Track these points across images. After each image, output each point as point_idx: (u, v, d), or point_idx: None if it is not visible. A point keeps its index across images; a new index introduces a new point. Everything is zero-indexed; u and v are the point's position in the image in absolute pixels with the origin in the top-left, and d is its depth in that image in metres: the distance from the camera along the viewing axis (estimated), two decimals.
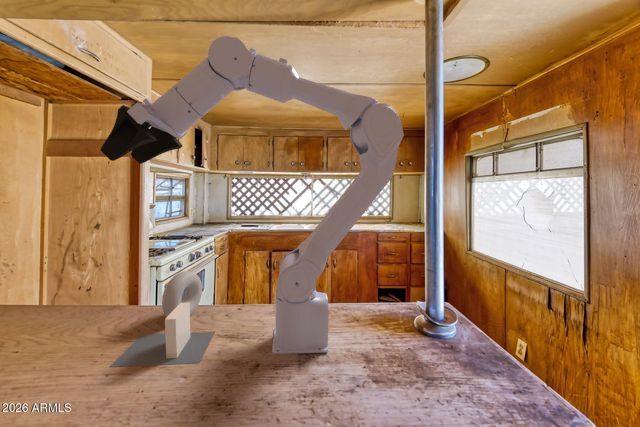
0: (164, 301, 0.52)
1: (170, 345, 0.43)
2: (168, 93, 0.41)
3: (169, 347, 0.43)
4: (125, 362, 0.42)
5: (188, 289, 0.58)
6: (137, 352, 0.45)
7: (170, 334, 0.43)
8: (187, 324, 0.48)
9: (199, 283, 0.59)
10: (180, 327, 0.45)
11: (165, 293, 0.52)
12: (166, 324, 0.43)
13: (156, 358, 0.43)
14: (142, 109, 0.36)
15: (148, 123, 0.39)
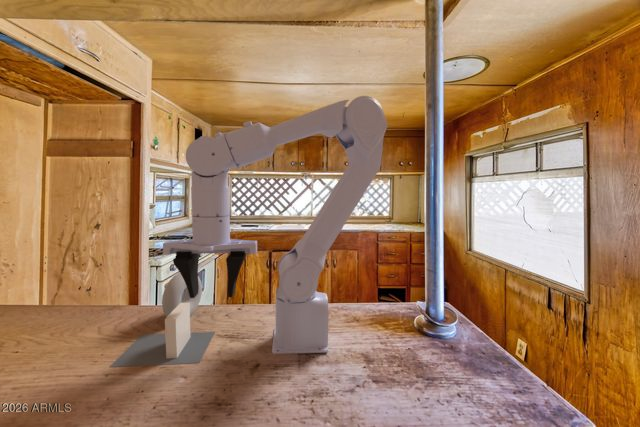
0: (164, 301, 0.52)
1: (170, 345, 0.43)
2: (223, 224, 0.43)
3: (169, 347, 0.43)
4: (125, 362, 0.42)
5: None
6: (137, 352, 0.45)
7: (170, 334, 0.43)
8: (187, 324, 0.48)
9: (199, 283, 0.59)
10: (180, 327, 0.45)
11: (165, 293, 0.52)
12: (166, 324, 0.43)
13: (156, 358, 0.43)
14: (256, 242, 0.46)
15: None
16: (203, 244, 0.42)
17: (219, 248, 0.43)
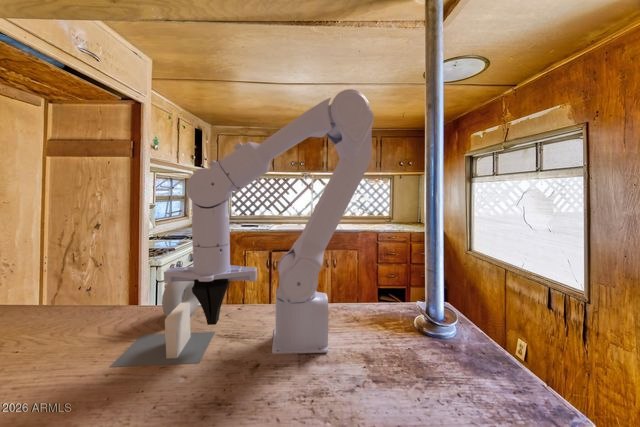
0: (164, 301, 0.52)
1: (170, 345, 0.43)
2: (223, 253, 0.44)
3: (169, 347, 0.43)
4: (125, 362, 0.42)
5: (188, 289, 0.58)
6: (137, 352, 0.45)
7: (170, 334, 0.43)
8: (187, 324, 0.48)
9: None
10: (180, 327, 0.45)
11: (165, 293, 0.52)
12: (166, 324, 0.43)
13: (156, 358, 0.43)
14: (256, 269, 0.46)
15: None
16: (203, 273, 0.43)
17: (219, 277, 0.43)
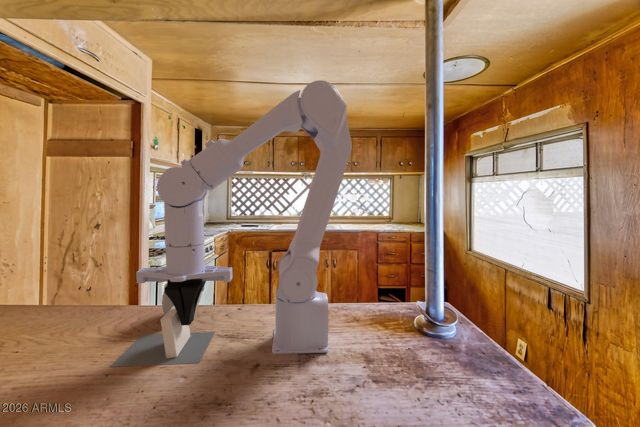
0: (164, 301, 0.52)
1: (169, 345, 0.43)
2: (196, 253, 0.43)
3: (168, 347, 0.43)
4: (125, 362, 0.42)
5: None
6: (137, 352, 0.45)
7: (167, 334, 0.43)
8: None
9: None
10: (178, 326, 0.45)
11: None
12: (162, 324, 0.43)
13: (156, 358, 0.43)
14: (231, 270, 0.46)
15: None
16: (176, 274, 0.42)
17: (192, 277, 0.43)
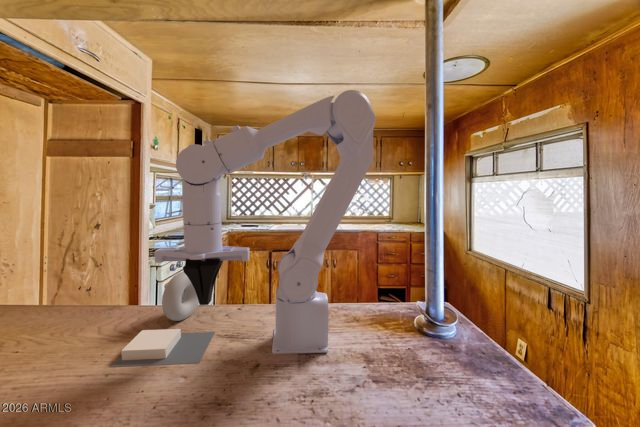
0: (164, 301, 0.52)
1: (151, 354, 0.43)
2: (214, 231, 0.43)
3: (153, 355, 0.43)
4: (125, 362, 0.42)
5: (188, 289, 0.58)
6: None
7: (138, 354, 0.43)
8: (159, 333, 0.48)
9: None
10: (143, 343, 0.45)
11: (165, 293, 0.52)
12: (127, 358, 0.43)
13: None
14: (248, 249, 0.46)
15: None
16: (194, 252, 0.42)
17: (211, 256, 0.43)
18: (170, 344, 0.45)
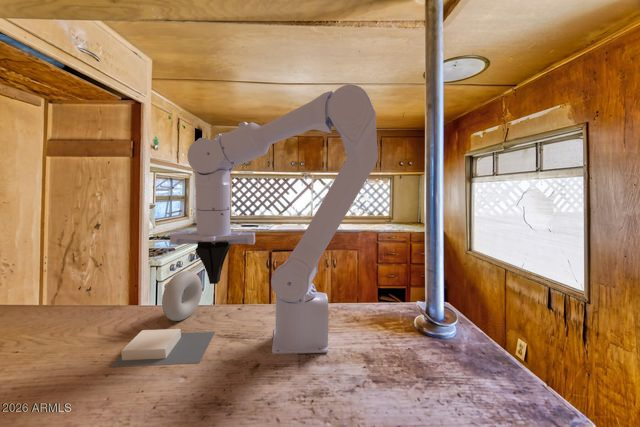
0: (164, 301, 0.52)
1: (151, 354, 0.43)
2: (224, 217, 0.48)
3: (153, 355, 0.43)
4: (125, 362, 0.42)
5: (188, 289, 0.58)
6: None
7: (138, 354, 0.43)
8: (159, 333, 0.48)
9: (199, 283, 0.59)
10: (143, 343, 0.45)
11: (165, 293, 0.52)
12: (127, 358, 0.43)
13: None
14: (254, 234, 0.51)
15: None
16: (206, 235, 0.47)
17: (220, 238, 0.48)
18: (170, 344, 0.45)
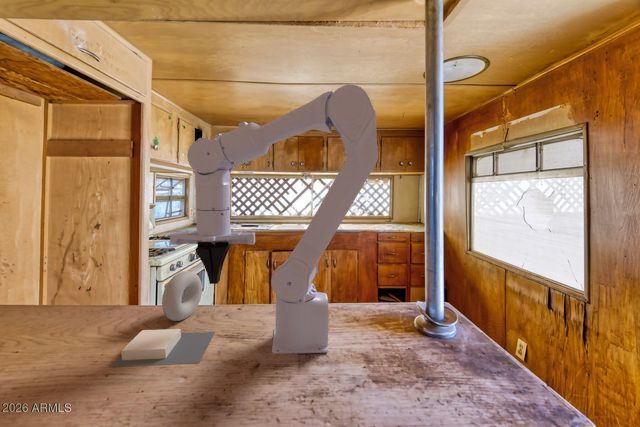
0: (164, 301, 0.52)
1: (151, 354, 0.43)
2: (224, 217, 0.48)
3: (153, 355, 0.43)
4: (125, 362, 0.42)
5: (188, 289, 0.58)
6: None
7: (138, 354, 0.43)
8: (159, 333, 0.48)
9: (199, 283, 0.59)
10: (143, 343, 0.45)
11: (165, 293, 0.52)
12: (127, 358, 0.43)
13: None
14: (254, 234, 0.51)
15: None
16: (206, 235, 0.47)
17: (220, 238, 0.48)
18: (170, 344, 0.45)
